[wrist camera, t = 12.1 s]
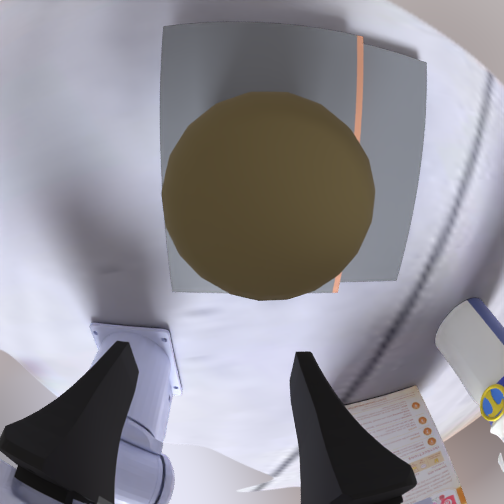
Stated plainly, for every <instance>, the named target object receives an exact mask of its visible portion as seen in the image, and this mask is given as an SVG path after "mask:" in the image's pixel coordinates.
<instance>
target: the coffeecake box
mask: <svg viewBox="0 0 504 504" xmlns="http://www.w3.org/2000/svg"><path fill="white" fill-rule="evenodd" d="M345 407H346V408H347V410H348V411H349V412H350V413H351V415H352V416H353V417H354V418H355V419H356V420H357V421H358V422H359V424H360V425H361V426H362V427H363V428H364V429H365V430H366V431H367V432H368V433H369V434H370V435H372V436H373V437H374V438H375V439H376V440H377V441H378V442H379V443H381V444H382V445H383V446H384V447H385V448H387V449H388V450H389V451H391V452H392V453H393V454H395V455H396V456H397V457H399V458H400V459H402V460H403V461H405V462H406V463H408V464H410V465H411V467H412V469H413V471H414V474H415V477H416V480H417V485H416V486H415V487H414V488H413V489H411V490H410V491H408V492H406V493H405V494H403V495H402V497H403V502H402V503H400V504H413V503H416V502H419V501H421V500H424V499H426V498H429V497H430V498H432V502H433V504H467V502H466V499H465V496H464V493H463V491H462V488H461V485H460V482H459V480H458V477H457V475H456V472H455V470H454V467H453V465H452V462H451V460H450V457H449V455H448V453H447V450H446V448H445V446H444V443H443V441H442V439H441V437H440V434H439V432H438V430H437V428H436V425H435V423H434V421H433V419H432V417H431V415H430V413H429V410H428V408H427V406H426V404H425V402H424V400H423V398H422V396H421V394H420V392H419V390H418V388H417V386H416V385H415V386H412V387H410V388H407V389H404V390H401V391H397V392H394V393H391V394H387V395H384V396H381V397H377V398H373V399H370V400H366V401H362V402H358V403H354V404H350V405H345Z"/></svg>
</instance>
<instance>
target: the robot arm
mask: <svg viewBox="0 0 504 504" xmlns="http://www.w3.org/2000/svg"><path fill="white" fill-rule="evenodd" d="M90 330H91V332H92V335H93V338H94V340H95V343H96V345H97V348H98V352H97V354H96V356H95V358H94V360H93V362H92V365H91V367H90V369H89V370H88V371H87V372H86V373H85V374H84V375H83V376H82V377H81V378H80V379H79V380H78V381H77V382H76V383H75V384H74V385H73V386H72V387H71V388H69V389H68V390H67V391H66V392H65V393H63V394H62V395H61V396H60V397H58V398H57V399H56V400H54V401H53V402H51V403H50V404H48V405H47V406H45V407H44V408H42V409H41V410H39V411H37V412H35V413H33V414H32V415H30V416H28V417H26V418H24V419H22V420H19V421H17V422H14V423H12V424H10V425H7V426H5V428H4V430H3V433H2V435H1V437H0V451H1V452H2V453H4V454H5V455H6V456H7V457H9V458H10V459H11V460H12V461H13V462H15V463H16V464H17V465H18V467H17V469H15V468H14V467H13V466H11V465H9V464H8V463H6V462H5V461H3V460H1V459H0V504H168V503H169V501H170V499H171V496H172V493H173V489H174V481H175V479H174V470H173V467H172V465H171V462H170V460H169V458H168V457H167V456H166V455H164V454H162V453H161V452H162V446H163V443H162V442H163V441H164V438H165V434H166V429H167V423H168V418H169V412H170V407H171V402H172V397H173V395H177V396H180V395H182V387H181V383H180V379H179V375H178V370H177V366H176V362H175V357H174V352H173V347H172V343H171V337H170V333H169V331H168V330H166V329H158V328H144V327H132V326H121V325H111V324H102V323H91V325H90ZM164 338H166V339H164ZM290 396H291V405H292V411H293V417H294V422H295V428H296V433H297V439H298V445H299V455H300V476H301V504H400V503H402V502H403V497H402V495H403V494H405V493H406V492H408V491H410V490H411V489H413V488H414V487H415V486H416V485H417V480H416V477H415V474H414V471H413V469H412V467H411V465H410V464H408V463H406V462H405V461H403V460H402V459H400V458H399V457H397V456H396V455H395V454H393V453H392V452H391V451H389V450H388V449H387V448H385V447H384V446H383V445H382V444H381V443H379V442H378V441H377V440H376V439H375V438H374V437H373V436H372V435H370V434H369V433H368V432H367V431H366V430H365V429H364V428H363V427H362V426H361V425H360V424H359V422H358V421H357V420H356V419H355V418H354V417H353V416H352V415H351V413H350V412H349V411H348V410H347V408H346V407H345V406H344V404H343V403H342V402H341V400H340V399H339V398H338V396H337V395H336V393H335V392H334V390H333V389H332V387H331V386H330V384H329V383H328V381H327V380H326V378H325V376H324V375H323V373H322V371H321V369H320V368H319V366H318V364H317V362H316V360H315V358H314V356H313V354H312V353H311V352H296V354H295V359H294V363H293V368H292V372H291V377H290ZM413 504H433V502H432V498H430V497H429V498H426V499H424V500H421V501H419V502H416V503H413Z"/></svg>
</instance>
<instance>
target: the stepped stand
mask: <svg viewBox="0 0 504 504" xmlns="http://www.w3.org/2000/svg"><path fill="white" fill-rule="evenodd" d="M248 92H289V93H292V94H295V95H298V96H300V97H303V98H306V99H309V100H311V101H314V102H317V103H319V104H321V105H323V106H324V107H325V108H326V109H328V110H329V111H330V112H331V113H333V114H334V115H335V116H336V117H338V118H339V119H340V120H341V121H342V122H343V123H345V124H346V125H347V126H348V127H349V128H350V129H351V130H352V132H353V133H354V135H355V136H356V138H357V140H358V141H359V143H360V145H361V146H362V148H363V150H364V151H365V153H366V155H367V157H368V158H369V162H370V166H371V171H372V175H373V180H374V185H375V190H376V191H375V201H374V209H373V218H372V223H371V225H370V227H369V230H368V232H367V234H366V236H365V238H364V241H363V243H362V245H361V247H360V249H359V252H358V254H357V255H356V256H355V257H354V258H353V259H352V261H351V262H350V263H349V264H348V265H347V266H346V267H345V269H344V270H343V271H342V272H341V273H340V274H339V275H338V276H337V277H335V278H334V279H332V280H331V281H329V282H327V283H326V284H324V285H323V286H321V287H320V288H318V289H317V290H315V291H312V292H309V293H338V289H339V284H340V282H368V281H396V280H397V277H398V273H399V270H400V266H401V262H402V258H403V254H404V251H405V246H406V242H407V238H408V234H409V229H410V225H411V220H412V215H413V210H414V204H415V199H416V193H417V187H418V181H419V174H420V167H421V159H422V151H423V141H424V130H425V116H426V93H427V63H426V62H423V61H421V60H418V59H415V58H412V57H409V56H406V55H403V54H400V53H396V52H393V51H390V50H386V49H383V48H379V47H375V46H371V45H367V44H363V37H362V36H358V35H354V34H349V33H344V32H339V31H334V30H328V29H322V28H316V27H309V26H301V25H292V24H281V23H266V22H205V23H190V24H180V25H171V26H163V38H162V54H161V77H160V151H161V176H162V187H163V182H164V177H165V173H166V168H167V164H168V160H169V155H170V154H171V152H172V150H173V149H174V147H175V146H176V144H177V142H178V141H179V139H180V138H181V136H182V134H183V133H184V131H185V130H186V128H187V127H188V125H190V124H191V123H192V122H193V121H195V120H196V119H197V118H198V117H200V116H201V115H202V114H203V113H205V112H206V111H207V110H208V109H210V108H211V107H212V106H214V105H215V104H216V103H219V102H222V101H225V100H227V99H230V98H233V97H236V96H239V95H242V94H245V93H248ZM164 220H165V218H164ZM165 232H166V242H167V252H168V261H169V269H170V277H171V285H172V292H194V293H228V292H226V291H224V290H222V289H221V288H219V287H217V286H215V285H213V284H212V283H210V282H208V281H206V280H205V279H203V278H201V277H200V276H199V275H198V274H197V273H196V272H195V271H194V270H193V269H192V268H191V267H190V266H189V265H188V264H187V263H186V261H185V260H184V259H183V258H182V257H181V256H180V255H179V253H178V251H177V249H176V247H175V245H174V243H173V241H172V239H171V237H170V235H169V233H168V231H167V228H166V226H165Z"/></svg>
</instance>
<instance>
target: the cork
mask: <svg viewBox="0 0 504 504" xmlns="http://www.w3.org/2000/svg"><path fill="white" fill-rule="evenodd" d="M375 191H376V190H375V185H374V180H373V175H372V171H371V166H370V162H369V158H368V157H367V155H366V153H365V151H364V150H363V148H362V146H361V145H360V143H359V141H358V140H357V138H356V136H355V135H354V133H353V132H352V130H351V129H350V128H349V127H348V126H347V125H346V124H345V123H343V122H342V121H341V120H340V119H339V118H338V117H336V116H335V115H334V114H333V113H331V112H330V111H329V110H328V109H326V108H325V107H324V106H323V105H321V104H319V103H317V102H314V101H311V100H309V99H306V98H303V97H300V96H298V95H295V94H292V93H289V92H248V93H245V94H242V95H239V96H236V97H233V98H230V99H227V100H225V101H222V102H219V103H216V104H215V105H214V106H212V107H211V108H210V109H208V110H207V111H206V112H205V113H203V114H202V115H201V116H200V117H198V118H197V119H196V120H195V121H193V122H192V123H191V124H190V125H188V127H187V128H186V130H185V131H184V133H183V134H182V136H181V138H180V139H179V141H178V142H177V144H176V146H175V147H174V149H173V150H172V152H171V154H170V155H169V160H168V164H167V168H166V173H165V177H164V182H163V187H162V202H163V211H164V218H165V226H166V228H167V231H168V233H169V235H170V237H171V239H172V241H173V243H174V245H175V247H176V249H177V251H178V253H179V255H180V256H181V257H182V258H183V259H184V260H185V261H186V263H187V264H188V265H189V266H190V267H191V268H192V269H193V270H194V271H195V272H196V273H197V274H198V275H199V276H200V277H201V278H203V279H205V280H206V281H208V282H210V283H212V284H213V285H215V286H217V287H219V288H221V289H222V290H224V291H226V292H228V293H230V294H232V295H236V296H241V297H245V298H249V299H254V300H258V301H263V300H287V299H290V298H294V297H297V296H300V295H303V294H306V293H309V292H312V291H315V290H317V289H318V288H320V287H321V286H323V285H324V284H326V283H327V282H329V281H331V280H332V279H334V278H335V277H337V276H338V275H339V274H340V273H341V272H342V271H343V270H344V269H345V267H346V266H347V265H348V264H349V263H350V262H351V261H352V259H353V258H354V257H355V256H356V255H357V254H358V252H359V249H360V247H361V245H362V243H363V241H364V238H365V236H366V234H367V232H368V230H369V227H370V225H371V223H372V218H373V209H374V201H375Z"/></svg>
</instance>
